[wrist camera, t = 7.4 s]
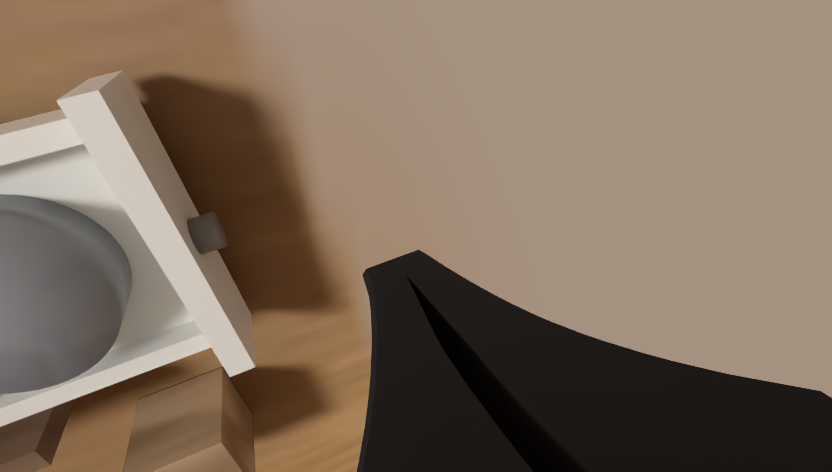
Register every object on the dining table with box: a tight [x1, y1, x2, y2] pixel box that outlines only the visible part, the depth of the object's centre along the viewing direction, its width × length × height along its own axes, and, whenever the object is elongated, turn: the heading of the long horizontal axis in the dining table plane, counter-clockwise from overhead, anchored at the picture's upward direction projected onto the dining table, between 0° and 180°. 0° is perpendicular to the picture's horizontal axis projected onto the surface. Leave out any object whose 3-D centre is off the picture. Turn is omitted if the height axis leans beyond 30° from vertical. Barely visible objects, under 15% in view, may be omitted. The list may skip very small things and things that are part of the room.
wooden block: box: [123, 367, 255, 472], centre depth 19 cm, size 4×4×4 cm
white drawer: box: [0, 70, 255, 427], centre depth 13 cm, size 10×10×3 cm
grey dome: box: [0, 194, 133, 394], centre depth 13 cm, size 6×6×2 cm
